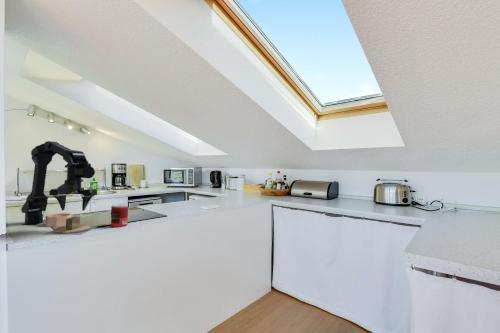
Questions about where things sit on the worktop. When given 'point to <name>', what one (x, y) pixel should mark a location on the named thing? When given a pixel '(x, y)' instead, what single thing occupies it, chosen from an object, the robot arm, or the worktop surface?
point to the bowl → (57, 219)
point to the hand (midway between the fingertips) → (73, 210)
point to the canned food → (119, 215)
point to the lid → (72, 226)
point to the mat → (71, 233)
